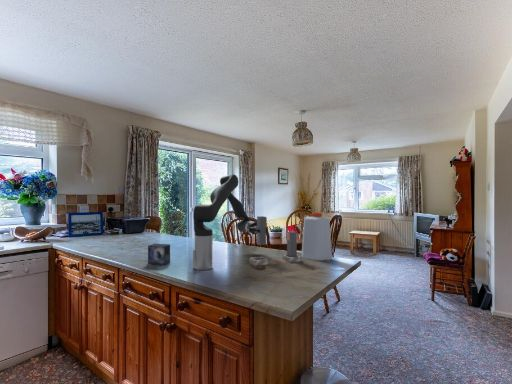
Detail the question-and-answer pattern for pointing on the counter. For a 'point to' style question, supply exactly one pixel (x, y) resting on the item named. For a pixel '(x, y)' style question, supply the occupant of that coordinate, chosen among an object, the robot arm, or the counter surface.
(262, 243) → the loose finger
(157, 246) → the small box
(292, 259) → the wooden base with sockets
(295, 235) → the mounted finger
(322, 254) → the grey bottle
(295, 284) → the counter surface
